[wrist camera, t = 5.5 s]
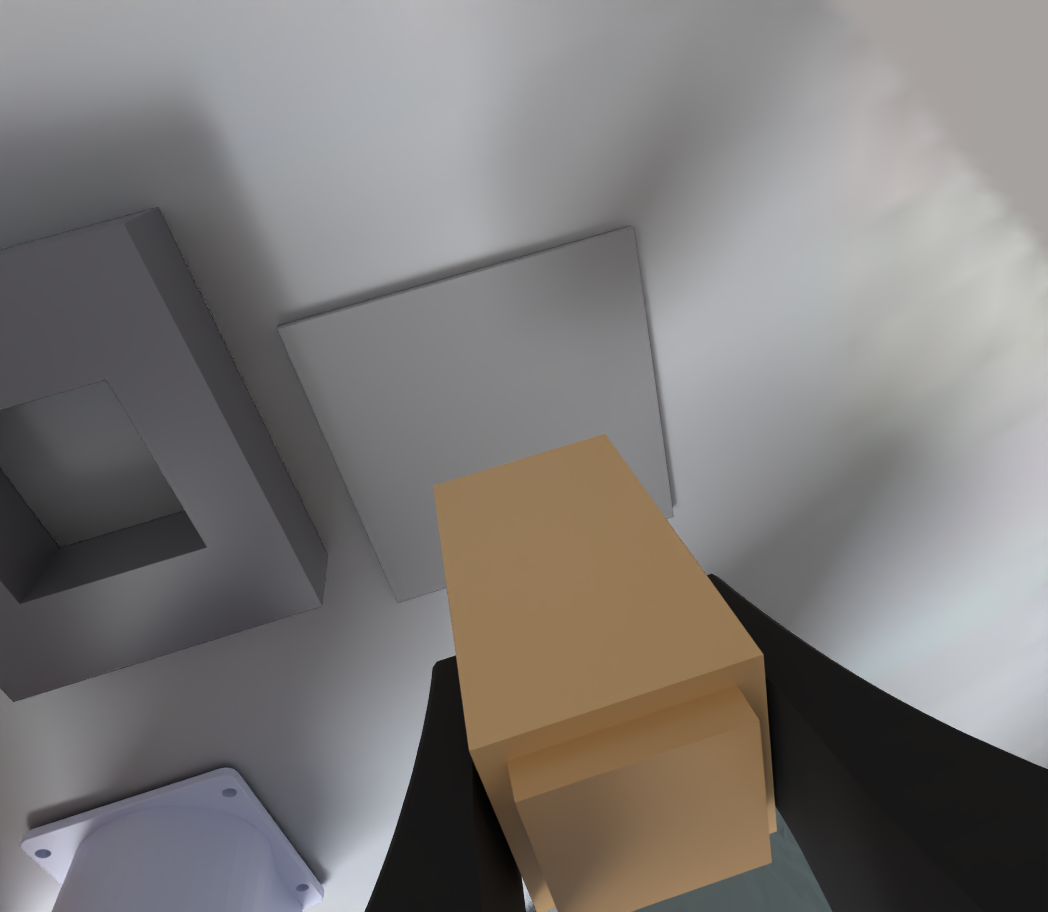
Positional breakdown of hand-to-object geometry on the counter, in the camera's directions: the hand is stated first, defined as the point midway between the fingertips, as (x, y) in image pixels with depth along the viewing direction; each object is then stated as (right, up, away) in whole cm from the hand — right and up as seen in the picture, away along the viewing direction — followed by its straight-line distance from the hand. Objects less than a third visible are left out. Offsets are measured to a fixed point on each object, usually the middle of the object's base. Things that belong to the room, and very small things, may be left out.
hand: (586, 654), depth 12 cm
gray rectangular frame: (-13, +4, +6) cm, 15 cm away
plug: (-1, +2, +3) cm, 4 cm away
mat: (-2, +4, +8) cm, 10 cm away
